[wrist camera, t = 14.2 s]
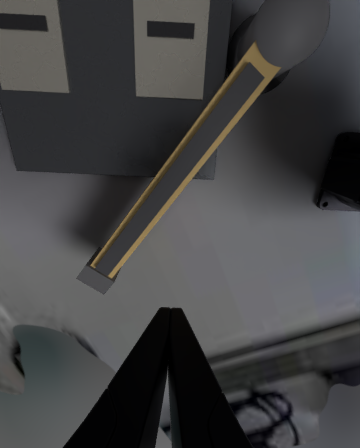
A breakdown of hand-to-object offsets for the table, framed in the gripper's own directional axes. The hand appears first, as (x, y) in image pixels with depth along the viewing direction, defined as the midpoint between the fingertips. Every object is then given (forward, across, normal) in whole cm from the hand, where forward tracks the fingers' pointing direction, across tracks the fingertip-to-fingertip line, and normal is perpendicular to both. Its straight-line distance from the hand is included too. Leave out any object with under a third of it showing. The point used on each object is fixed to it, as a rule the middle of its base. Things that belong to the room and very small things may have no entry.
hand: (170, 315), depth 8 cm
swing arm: (+12, 0, -4) cm, 13 cm away
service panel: (+13, +3, -12) cm, 18 cm away
